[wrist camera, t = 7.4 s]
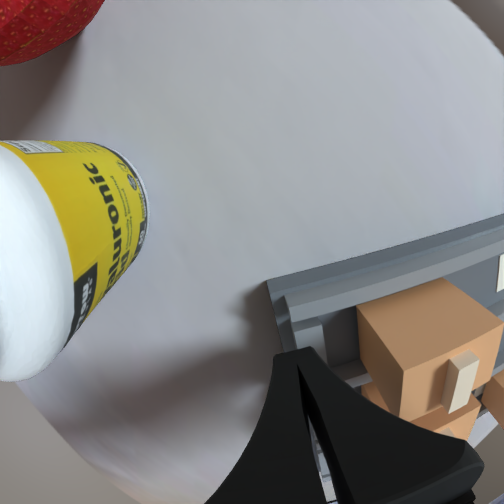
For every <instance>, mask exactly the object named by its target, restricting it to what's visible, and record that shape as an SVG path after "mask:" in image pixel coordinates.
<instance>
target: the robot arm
mask: <svg viewBox="0 0 504 504" xmlns="http://www.w3.org/2000/svg"><path fill="white" fill-rule="evenodd" d="M308 416H309V419H310V422H311V424H312V427H313V429H314V432H315V435H316V437H317V440H318V442H319V445H320V447H321V450H322V452H323V455H324V458H325V460H326V463H327V466H328V469H329V472H330V476H331V480H332V483H333V487H334V491H335V495H336V499H337V502H333V503H329V504H474V503H473V501H474V500H475V499H476V498H475V495H474V493H473V491H472V490H471V488H472V487H473V486H474V484H475V483H476V481H477V480H478V478H479V477H480V475H481V474H482V472H483V469H484V463H483V461H482V459H481V458H480V456H479V455H478V453H477V452H476V451H475V450H474V449H473V448H472V447H471V446H470V445H469V443H468V442H467V441H466V440H464V439H460V438H455V437H451V436H447V435H443V434H440V433H436V432H433V431H431V430H428V429H425V428H422V427H419V426H417V425H415V424H413V423H410V422H408V421H406V420H404V419H402V418H399V417H397V416H395V415H393V414H392V413H390V412H388V411H386V410H384V409H383V408H381V407H379V406H378V405H376V404H375V403H373V402H371V401H370V400H368V399H367V398H366V397H364V396H363V395H361V394H360V393H359V392H357V391H356V390H355V389H354V388H352V387H351V386H350V385H349V384H347V383H346V382H345V381H344V380H343V379H342V378H341V377H340V376H338V375H337V374H336V373H335V372H334V371H333V370H332V369H331V368H330V367H329V366H328V365H327V364H326V363H325V362H324V360H323V359H322V358H321V357H320V356H319V355H318V353H317V352H316V351H315V349H314V348H313V347H311V346H308V347H304V348H301V349H297V350H293V351H289V352H285V353H281V354H277V355H275V356H274V357H273V369H272V376H271V381H270V386H269V390H268V394H267V398H266V401H265V404H264V407H263V410H262V413H261V415H260V418H259V421H258V423H257V426H256V428H255V430H254V432H253V434H252V437H251V439H250V441H249V443H248V444H247V446H246V448H245V450H244V452H243V453H242V455H241V457H240V458H239V460H238V462H237V463H236V465H235V466H234V468H233V469H232V471H231V472H230V473H229V475H228V476H227V477H226V479H225V480H224V481H223V483H222V484H221V485H220V487H219V488H218V489H217V490H216V492H215V493H214V494H213V495H212V496H211V497H210V498H209V499H208V500H207V501H206V502H205V503H204V504H327V502H326V498H325V494H324V491H323V487H322V483H321V479H320V476H319V472H318V468H317V464H316V461H315V457H314V453H313V448H312V441H311V434H310V427H309V420H308ZM489 504H504V494H502V495H501V496H499V497H498V498H496V499H495V500H493V501H492V502H491V503H489Z"/></svg>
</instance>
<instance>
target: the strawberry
mask: <svg viewBox="0 0 504 504" xmlns="http://www.w3.org/2000/svg"><path fill="white" fill-rule="evenodd" d="M104 1H105V0H0V66H6V65H12V64H18V63H22V62H25V61H28V60H31V59H34V58H36V57H38V56H40V55H42V54H44V53H46V52H48V51H50V50H52V49H53V48H55V47H57V46H59V45H60V44H62V43H64V42H66V41H67V40H69V39H70V38H72V37H74V36H75V35H77V34H78V33H79V32H80V31H82V30H83V29H84V28H85V27H86V26H87V25H88V24H89V23H90V22H91V21H92V19H93V18H94V16H95V15H96V14H97V12H98V10H99V9H100V7H101V6H102V4H103V2H104Z"/></svg>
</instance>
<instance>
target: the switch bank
mask: <svg viewBox="0 0 504 504" xmlns="http://www.w3.org/2000/svg"><path fill="white" fill-rule="evenodd" d="M441 277H443V278H444V279H446V280H447V281H449V282H450V283H452V284H453V285H454V286H456V287H457V288H459V289H460V290H462V291H463V292H464V293H466V294H467V295H468V296H470V297H471V298H473V299H474V300H475V301H477V302H478V303H479V304H481V305H482V306H483V307H485V308H486V309H487V310H489V311H490V312H491V313H493V314H494V315H495V316H497V317H498V318H499V319H501V320H502V321H503V322H504V214H501V215H498V216H495V217H492V218H489V219H485V220H482V221H479V222H476V223H473V224H469V225H466V226H463V227H459V228H456V229H453V230H450V231H446V232H443V233H439V234H436V235H433V236H429V237H426V238H422V239H419V240H415V241H412V242H409V243H405V244H401V245H398V246H394V247H391V248H387V249H384V250H380V251H377V252H373V253H369V254H366V255H362V256H358V257H355V258H351V259H347V260H343V261H340V262H336V263H332V264H328V265H324V266H321V267H317V268H313V269H309V270H305V271H301V272H297V273H293V274H290V275H286V276H282V277H278V278H274V279H270V280H266V281H267V285H268V289H269V293H270V298H271V302H272V306H273V310H274V314H275V318H276V322H277V326H278V331H279V335H280V339H281V343H282V347H283V351H284V353H285V352H289V351H293V350H297V349H301V348H304V347H308V346H311V347H313V348H314V349H315V351H316V352H317V353H318V355H319V356H320V357H321V358H322V359H323V360H324V362H325V363H326V364H327V365H328V366H329V367H330V368H331V369H332V370H333V371H334V372H335V373H336V374H337V375H338V376H340V377H341V378H342V379H343V380H344V381H345V382H346V383H347V384H349V385H350V386H351V387H352V388H354V389H355V390H356V391H357V392H359V393H360V394H361V395H362V393H361V385H363V384H366V383H369V382H372V381H373V380H372V378H371V377H370V375H369V373H368V371H367V370H366V368H365V366H364V364H363V362H362V361H361V359H360V348H359V334H358V321H357V310H356V305H359V304H363V303H366V302H369V301H373V300H376V299H379V298H382V297H385V296H388V295H391V294H394V293H397V292H401V291H404V290H406V289H409V288H412V287H415V286H418V285H421V284H424V283H427V282H430V281H432V280H435V279H438V278H441ZM503 369H504V328H503V332H502V337H501V341H500V345H499V349H498V353H497V357H496V361H495V364H494V368H493V371H492V375H491V377H492V376H494V375H495V374H497V373H499V372H500V371H502V370H503ZM486 384H487V382H486V383H485V384H483V385H481V386H480V387H478V388H476V389H474V390H473V391H471V393H472V394H473V395H474V396H475V398H476V399H477V400H478V401H479V402H480V404H481V407H480V410H479V413H478V415H477V418H478V417H480V416H482V415H483V414H485V413H486V412H488V411H489V410H488V409H487V408H486V407H485V406H484V404H483V403H482V402H481V399H482V396H483V393H484V390H485V387H486ZM477 418H476V419H477ZM308 420H309V427H310V434H311V441H312V448H313V453H314V457H315V461H316V464H317V468H318V472H321V476H322V479H323V482H326V481H330V480H331V476H330V472H329V469H328V466H327V463H326V460H325V458H324V455H323V452H322V450H321V447H320V445H319V442H318V440H317V437H316V435H315V432H314V429H313V427H312V424H311V422H310V419H309V416H308Z"/></svg>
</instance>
